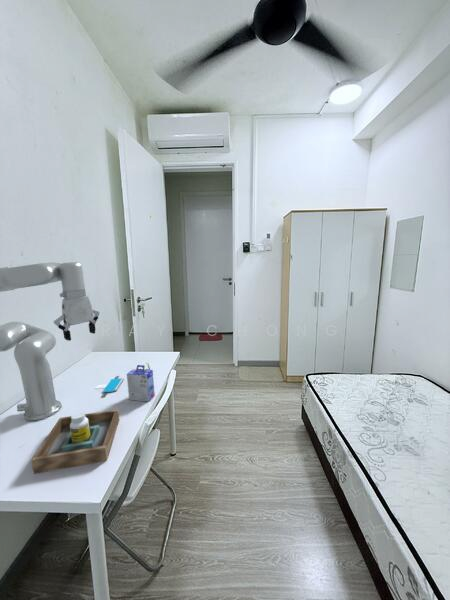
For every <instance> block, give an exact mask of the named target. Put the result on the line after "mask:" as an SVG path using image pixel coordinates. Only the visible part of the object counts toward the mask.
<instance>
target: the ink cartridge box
mask: <svg viewBox="0 0 450 600" xmlns="http://www.w3.org/2000/svg"><path fill="white" fill-rule="evenodd" d="M145 366H146V365H144V364H142V365H141V364H137V365H136V368H133V369H131V370H129V372H127V373H126V381H127V382H126V383H127V391H128V392H127V393H128V400H130V401H137V402H138V401H140V402H150V401H151V400H153V398H154V397H155V395H156V393H155V383H154V373H153V372H154V370H152V369H150V370H144V369H146V367H145Z"/></svg>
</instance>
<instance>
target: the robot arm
mask: <svg viewBox="0 0 450 600" xmlns="http://www.w3.org/2000/svg"><path fill="white" fill-rule="evenodd" d="M56 282H61V287H62V292H61V293H59V297H60V298H62V300H61V301H62V302H61V315H60V316H59V317H58V318H56V319H55V320H54V321H53V324H55V326H56V327H57V328H58V329H60V330H61V331H62V333H63V338H64V339H65V340H66V341H68V342H69V341H71V340H72V337H71V331H70V327H71V326H75V325H80V324H83V323H84V324H85V323H88V330H89V333H90V334H96V330H97V329H96V323H97V321H98V320H99V316H100V311H98V310H95V309H93V307H92V303H91V299H90V297H89V296H88V295H87V294H86V293H87V291H86V287H85V286H86V285H85V279H84V271H83V266H82V264H81V263H80V262H76V261H75V262H63V263H60V262H44V263H43V262H42V263H41V262H40V263H34V264H26V265H19V266H12V267H11V266H10V267H7V266H6V267H0V293H1V292H2V293H3V292H8V291H15V290H17V289H24V288H31V287H37V286H38V287H39V286H44V285H48V284H52V283H56ZM61 322H63V325H62V323H61ZM56 343H57V339H56V337H55V335H54V334H53V333H52V332H50V331H48V330H45V329H43V328H39V327H37V326H34V325H31V324H28V323H25V322H22V321H10V322H7V323H4V324H2V325H1V324H0V353H1V352H7V351H8V350H11V349H14V350H13V356H14V360H15V362H16V364H17V366H18V369H19V373H20V377H21V382H22V387H23V392H24V397H25V398H24V399H25V402H26V403H18V404H17V406H16V409H17V410H16V412H24V413H23V418H24V420H26V421H31V422H32V421H40V420H43V419H47V418H48V417H50V416H53V415H54V414H56V413H58V411H59V410H60V409H61V407H62V403H61V401H60V400H57V399H56V393H55V387H54V381H53V375H52V369H51V365H50V363H49V361H48V360H47V358H46V355H48V353H49V352H51V351H52V350H53V349H54V348H55V346H56V345H57V344H56Z"/></svg>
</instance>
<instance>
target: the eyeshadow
mask: <svg viewBox="0 0 450 600" xmlns="http://www.w3.org/2000/svg"><path fill="white" fill-rule="evenodd" d="M145 364H146V365H147V368H144V370H151V367H150V364H149V362H148V361H147V362H146V363H145Z"/></svg>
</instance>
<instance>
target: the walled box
mask: <svg viewBox="0 0 450 600" xmlns="http://www.w3.org/2000/svg"><path fill="white" fill-rule="evenodd" d="M119 413H120V411H119V409H112V410H105V411H103V410H102V411H96V412H91V413H90V412H89V413H85V417H86V418H88V421H89V428H90V436H91V437H90V440H89V441H86V442H80V443H74V444H73V443H72V437H71V430H70V423H71V422H72V421H71V416H72V415H70V416H64V417H59V419H58V420H57V422H55V425H54V426H53V427H52V429H51V430H50V432H49V433H48V435H47V436H46V438H45V440H44V441H43V442H42V444H41V445H40V446H39V448H38V450H37V452H36V453H35V455H34V456H33V457H32V459H31V464H32V465H31V466H32V470H33V474H35V475H36V474H40V473H46V472H51V471H55V470H56V471H57V470H61V469H68V468H72V467H78V466H83V465H84V466H85V465H90V464H94V463H96V464H97V463H101V462H106V461H108V459H109V456H110V452H111V449H112V446H113V442H114V439H115V437H116V436H115V435H116V433H117V430H118V429H117V428H118V426H119V423H120V415H119Z"/></svg>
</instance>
